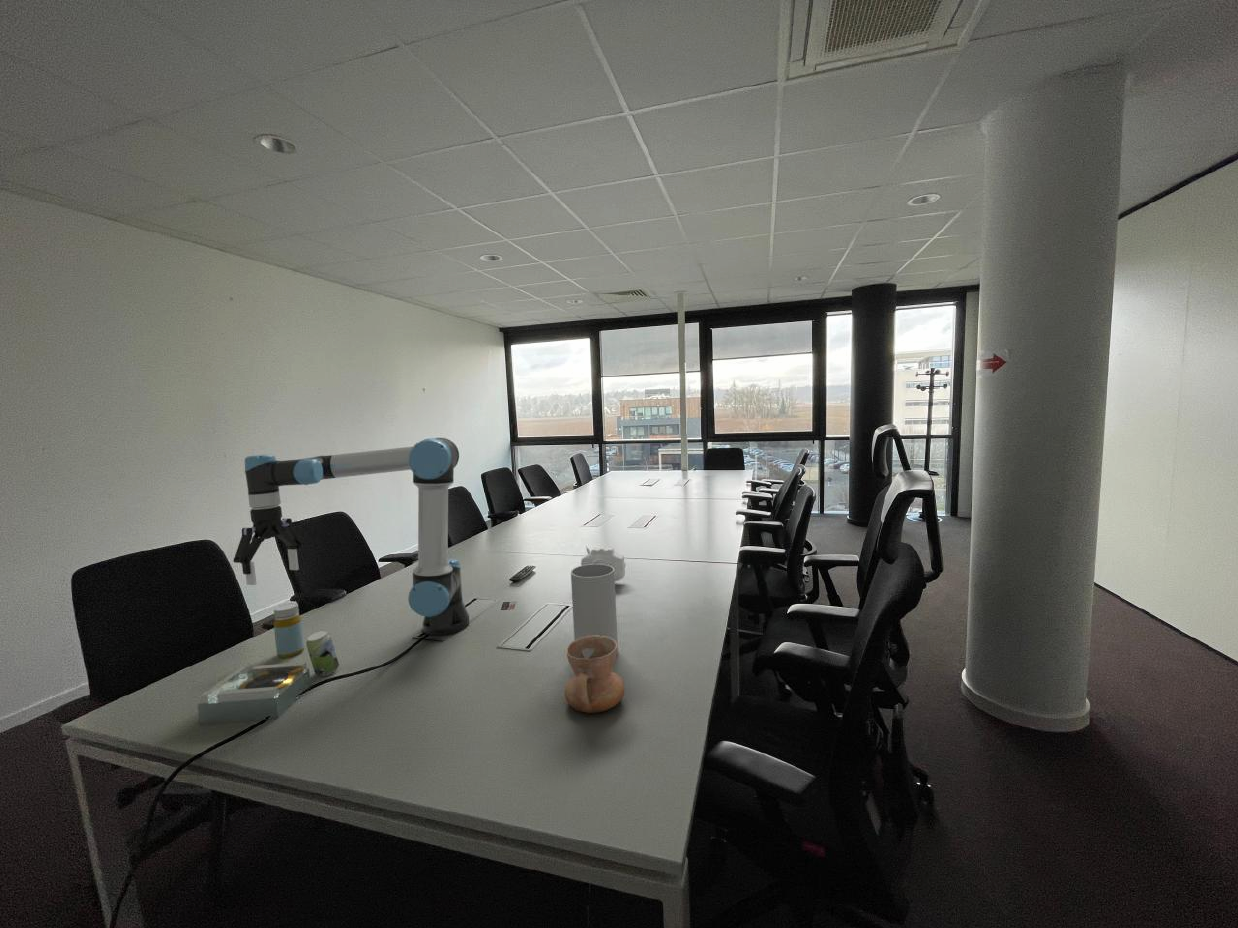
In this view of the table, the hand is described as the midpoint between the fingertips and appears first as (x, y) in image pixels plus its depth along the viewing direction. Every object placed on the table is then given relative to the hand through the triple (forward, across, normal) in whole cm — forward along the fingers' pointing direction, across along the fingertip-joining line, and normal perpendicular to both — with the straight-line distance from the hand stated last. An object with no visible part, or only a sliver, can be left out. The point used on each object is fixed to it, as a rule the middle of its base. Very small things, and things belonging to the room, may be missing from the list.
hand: (274, 576), depth 148 cm
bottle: (+26, -3, -1) cm, 26 cm away
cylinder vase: (+26, -20, +94) cm, 100 cm away
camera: (+26, -78, +78) cm, 114 cm away
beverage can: (+26, +5, +21) cm, 34 cm away
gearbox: (+26, +21, +17) cm, 37 cm away
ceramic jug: (+26, +4, +101) cm, 105 cm away
